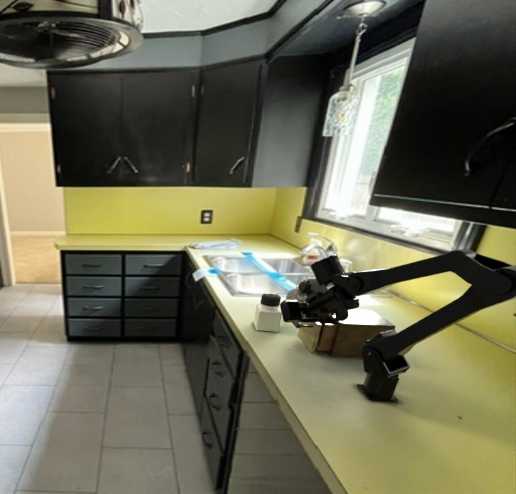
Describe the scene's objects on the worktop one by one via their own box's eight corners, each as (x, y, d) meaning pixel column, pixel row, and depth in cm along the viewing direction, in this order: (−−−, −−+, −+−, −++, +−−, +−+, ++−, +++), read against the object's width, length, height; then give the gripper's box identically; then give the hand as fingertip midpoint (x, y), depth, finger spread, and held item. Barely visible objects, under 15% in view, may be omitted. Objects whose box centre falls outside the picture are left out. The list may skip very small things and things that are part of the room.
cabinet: (331, 356, 107) (341, 323, 103) (314, 338, 118) (322, 308, 114) (383, 359, 106) (396, 325, 101) (361, 341, 117) (371, 310, 113)
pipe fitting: (283, 304, 147) (290, 281, 142) (304, 308, 145) (313, 285, 140) (283, 317, 138) (292, 293, 132) (306, 322, 135) (316, 297, 130)
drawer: (293, 350, 108) (299, 323, 105) (281, 335, 119) (287, 310, 115) (358, 354, 107) (367, 326, 103) (340, 338, 117) (348, 312, 113)
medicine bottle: (278, 332, 123) (285, 298, 118) (256, 330, 124) (262, 297, 119) (273, 324, 129) (280, 292, 124) (253, 322, 131) (258, 290, 126)
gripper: (355, 272, 100) (319, 296, 114) (292, 273, 97) (263, 297, 112) (366, 310, 96) (327, 329, 111) (301, 311, 94) (270, 331, 109)
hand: (297, 320), depth 111 cm, fingers closed, pressing on drawer
